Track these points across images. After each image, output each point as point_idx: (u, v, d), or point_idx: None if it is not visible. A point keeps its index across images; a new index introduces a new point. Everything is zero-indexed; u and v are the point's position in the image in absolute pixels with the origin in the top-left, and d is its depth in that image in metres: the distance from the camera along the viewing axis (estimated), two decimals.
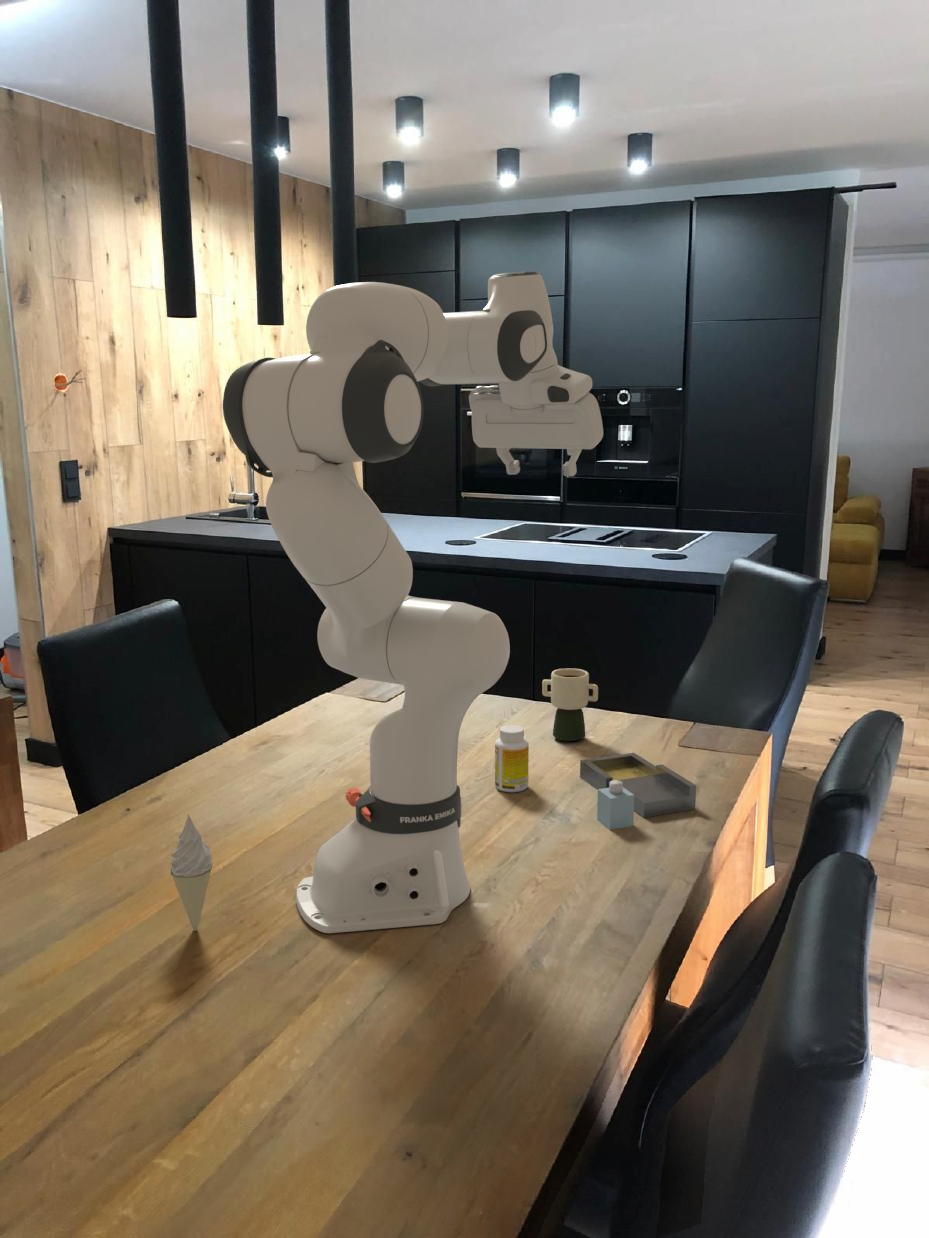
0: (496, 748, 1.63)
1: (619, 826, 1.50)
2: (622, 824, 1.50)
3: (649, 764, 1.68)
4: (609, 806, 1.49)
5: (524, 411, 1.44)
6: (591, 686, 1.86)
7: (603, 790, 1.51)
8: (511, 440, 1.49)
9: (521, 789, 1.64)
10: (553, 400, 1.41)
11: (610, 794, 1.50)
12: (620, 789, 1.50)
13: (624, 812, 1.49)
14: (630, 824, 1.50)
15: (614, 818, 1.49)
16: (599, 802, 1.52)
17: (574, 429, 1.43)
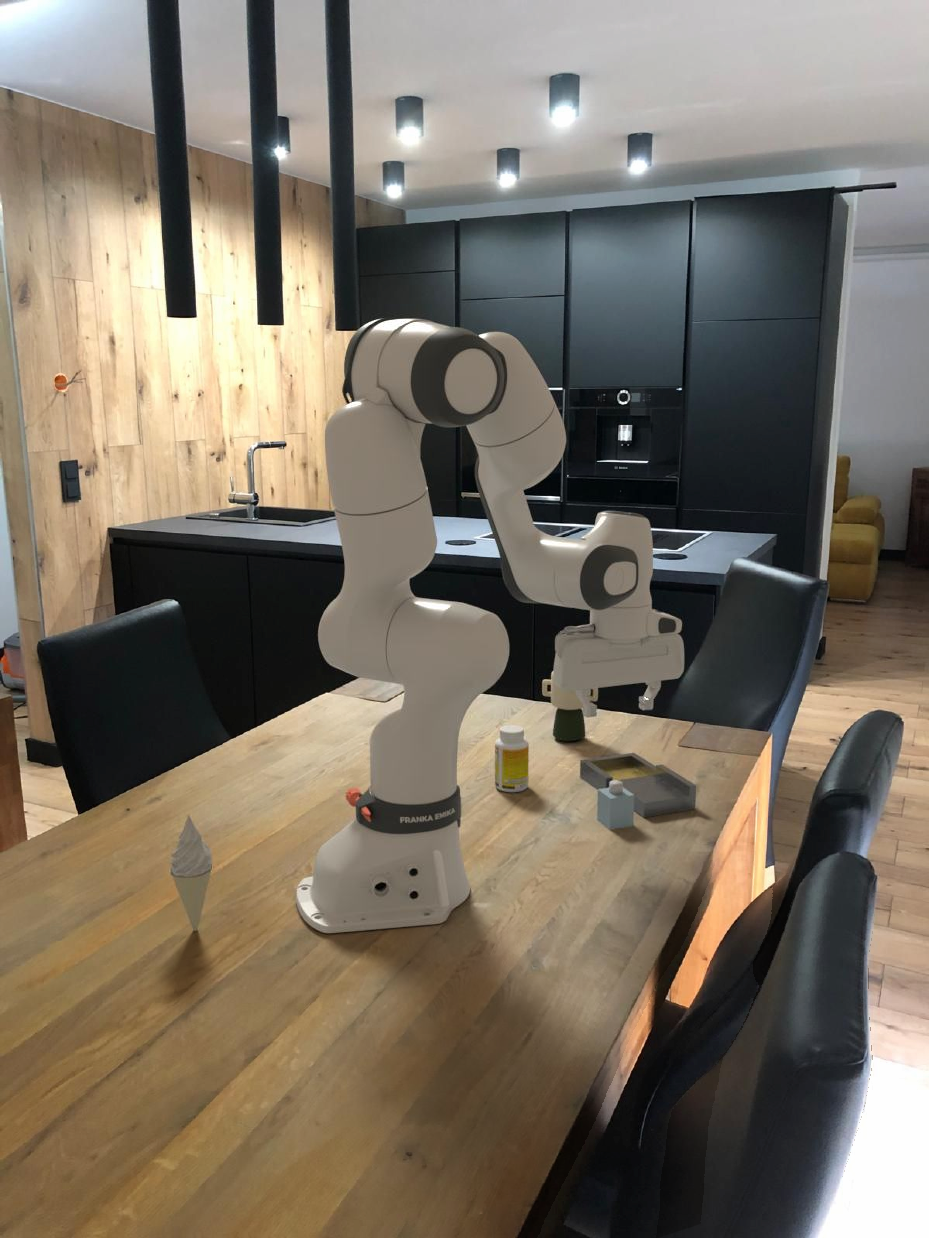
0: (496, 748, 1.63)
1: (619, 826, 1.50)
2: (622, 824, 1.50)
3: (649, 764, 1.68)
4: (609, 806, 1.49)
5: (631, 645, 1.43)
6: None
7: (603, 790, 1.51)
8: (604, 678, 1.44)
9: (521, 789, 1.64)
10: (662, 631, 1.44)
11: (610, 794, 1.50)
12: (620, 789, 1.50)
13: (624, 812, 1.49)
14: (630, 824, 1.50)
15: (614, 818, 1.49)
16: (599, 802, 1.52)
17: (667, 660, 1.47)
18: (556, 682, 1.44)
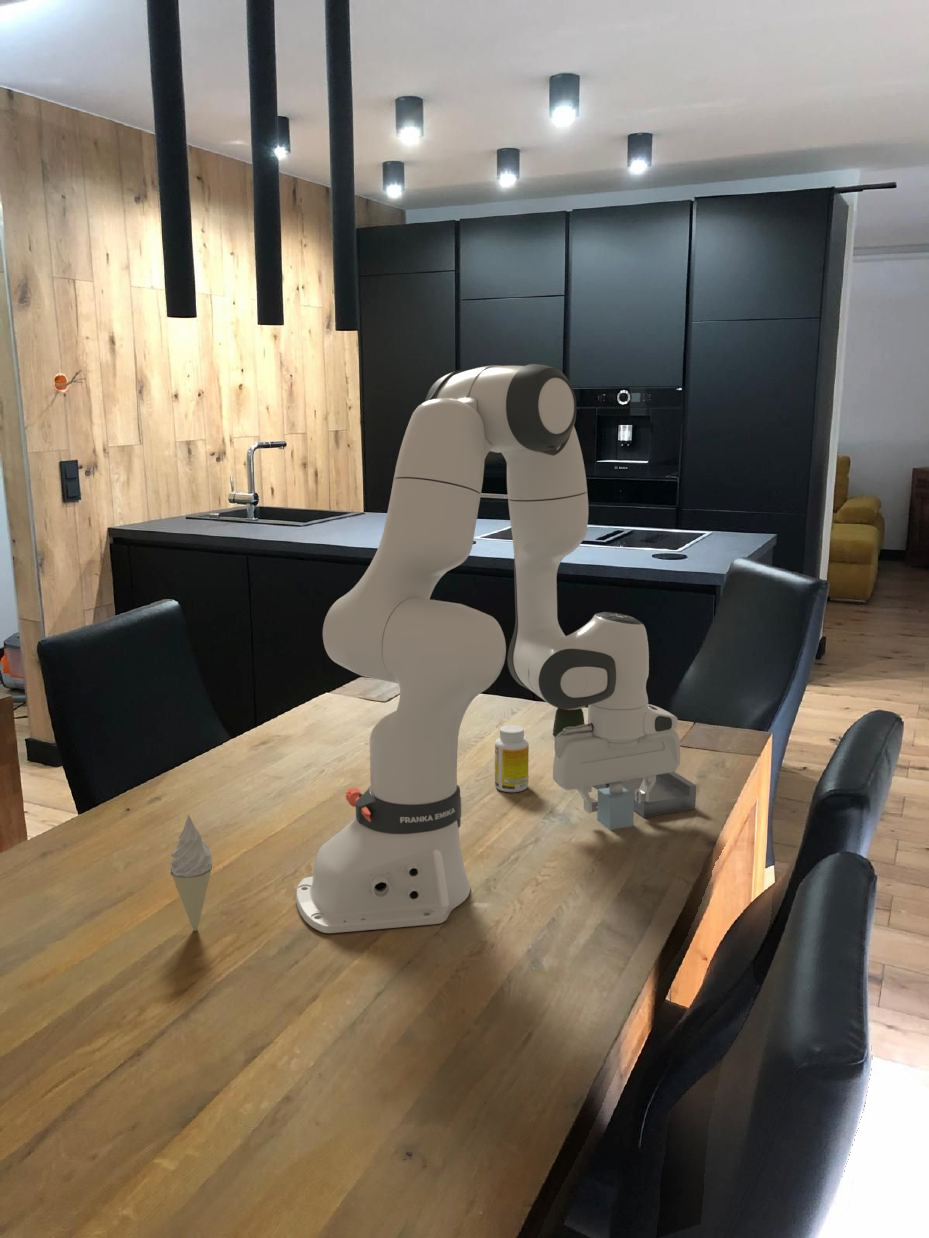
0: (496, 748, 1.63)
1: (619, 826, 1.50)
2: (622, 824, 1.50)
3: None
4: (609, 806, 1.49)
5: (629, 744, 1.47)
6: None
7: (603, 790, 1.51)
8: (603, 776, 1.48)
9: (521, 789, 1.64)
10: (658, 729, 1.48)
11: (610, 794, 1.50)
12: (620, 789, 1.50)
13: (624, 812, 1.49)
14: (630, 824, 1.50)
15: (614, 818, 1.49)
16: (599, 802, 1.52)
17: (663, 755, 1.51)
18: (556, 781, 1.47)
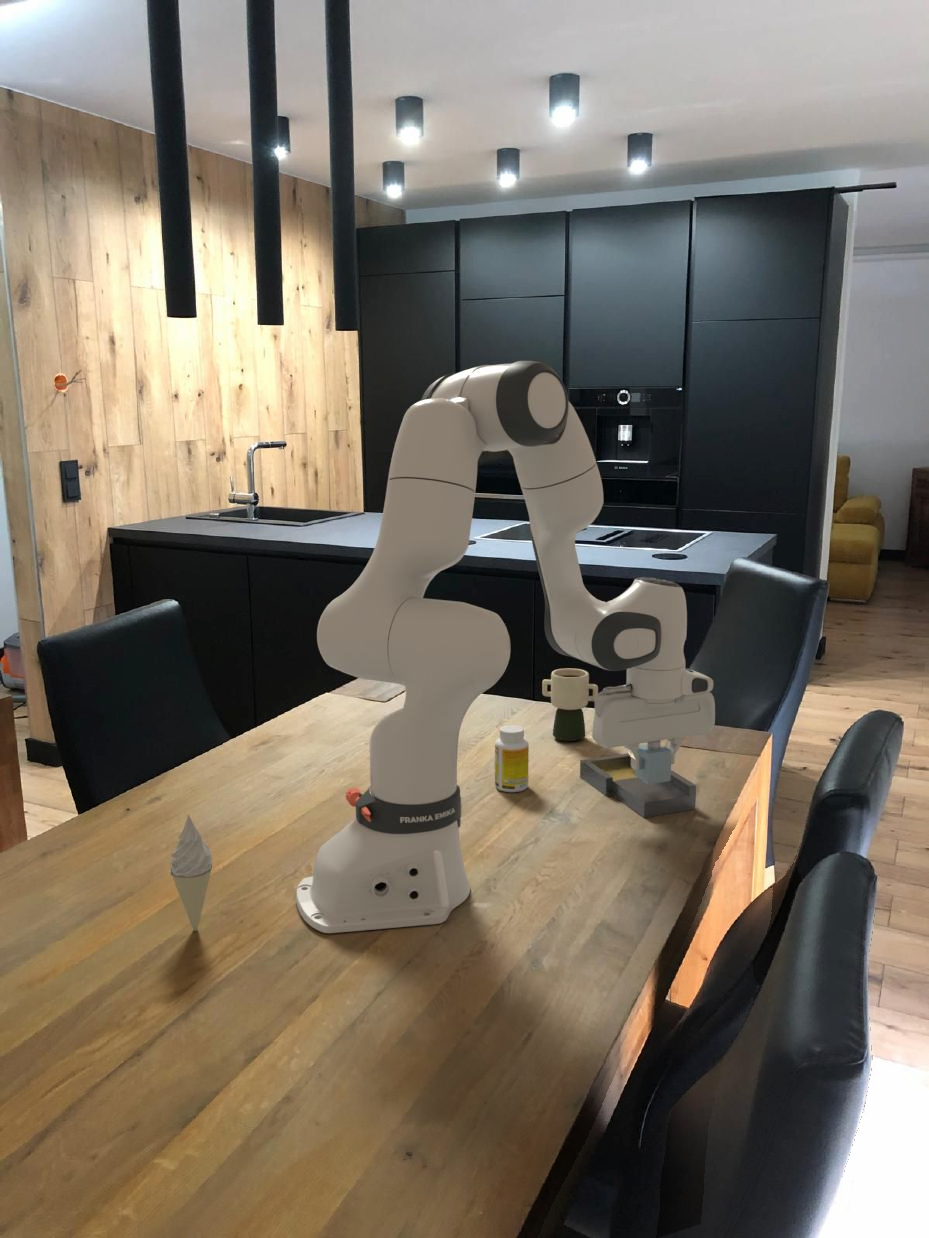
0: (496, 748, 1.63)
1: (657, 781, 1.55)
2: (660, 779, 1.55)
3: None
4: (647, 761, 1.54)
5: (666, 704, 1.52)
6: (591, 686, 1.86)
7: (641, 746, 1.57)
8: (641, 735, 1.53)
9: (521, 789, 1.64)
10: (695, 690, 1.53)
11: (648, 750, 1.55)
12: (658, 745, 1.55)
13: (661, 767, 1.55)
14: (667, 779, 1.56)
15: (653, 773, 1.54)
16: None
17: (699, 716, 1.56)
18: (595, 739, 1.52)
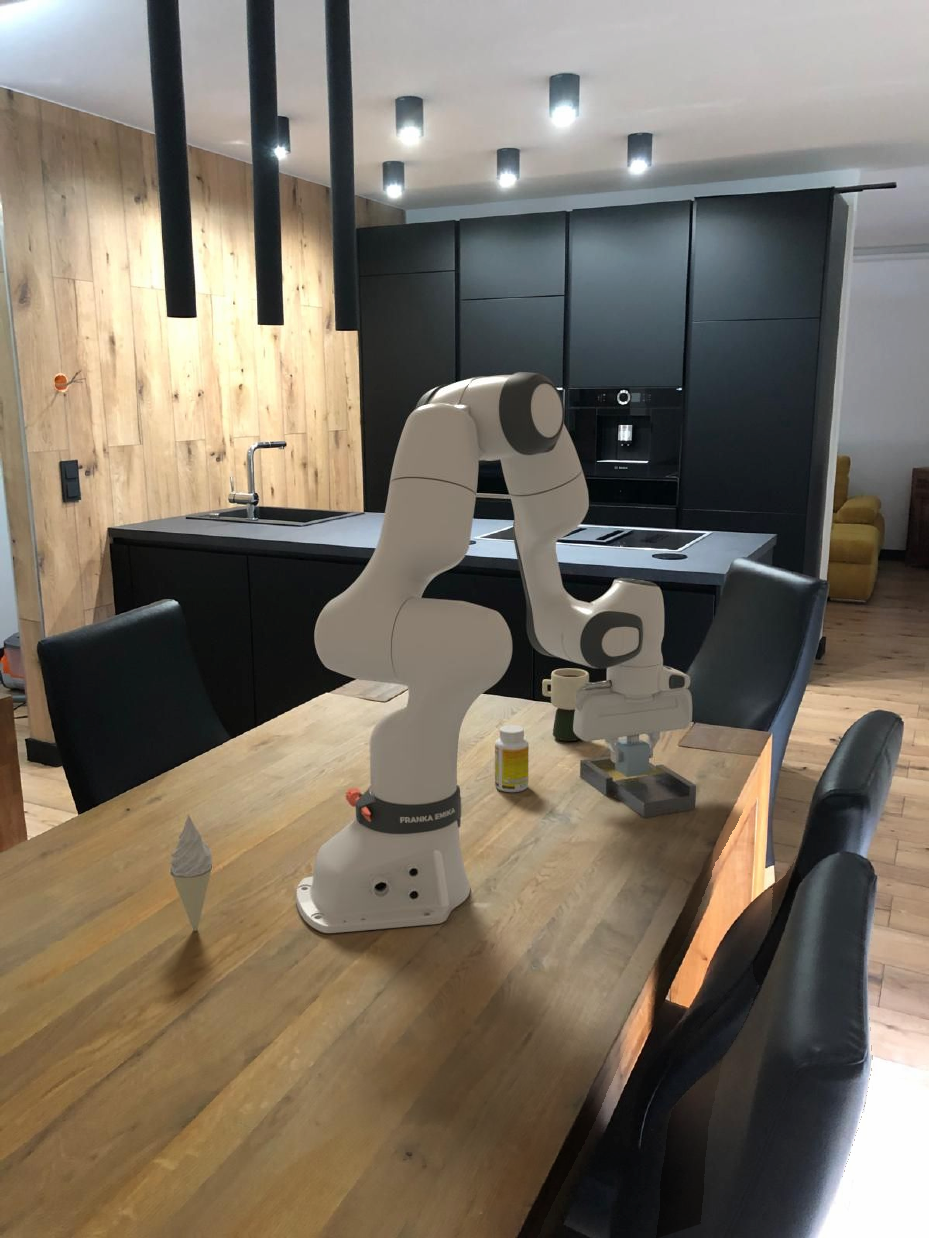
0: (496, 748, 1.63)
1: (635, 773, 1.61)
2: (638, 772, 1.61)
3: (649, 764, 1.68)
4: (626, 755, 1.60)
5: (644, 700, 1.58)
6: None
7: (621, 740, 1.63)
8: (620, 729, 1.59)
9: (521, 789, 1.64)
10: (672, 687, 1.59)
11: (627, 744, 1.61)
12: (637, 739, 1.61)
13: (640, 761, 1.61)
14: (646, 772, 1.62)
15: (631, 766, 1.61)
16: None
17: (676, 712, 1.62)
18: (576, 733, 1.59)
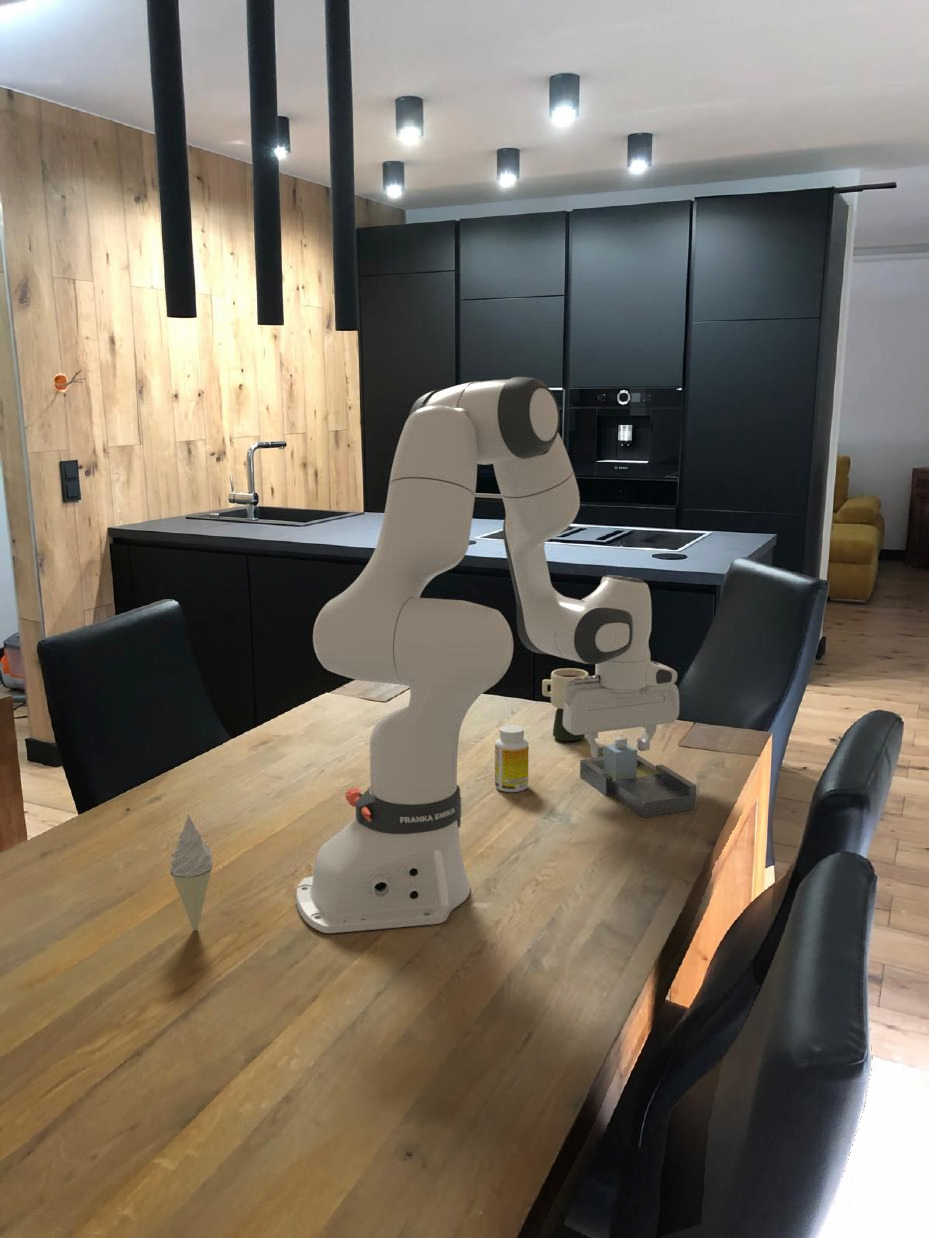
0: (496, 748, 1.63)
1: (624, 778, 1.65)
2: (626, 776, 1.65)
3: (649, 764, 1.68)
4: (614, 760, 1.64)
5: (632, 694, 1.61)
6: None
7: (609, 746, 1.67)
8: (608, 723, 1.62)
9: (521, 789, 1.64)
10: (659, 681, 1.62)
11: (616, 749, 1.65)
12: (625, 744, 1.65)
13: (628, 766, 1.65)
14: (634, 776, 1.65)
15: (620, 770, 1.64)
16: (605, 757, 1.67)
17: (664, 706, 1.65)
18: (565, 727, 1.62)
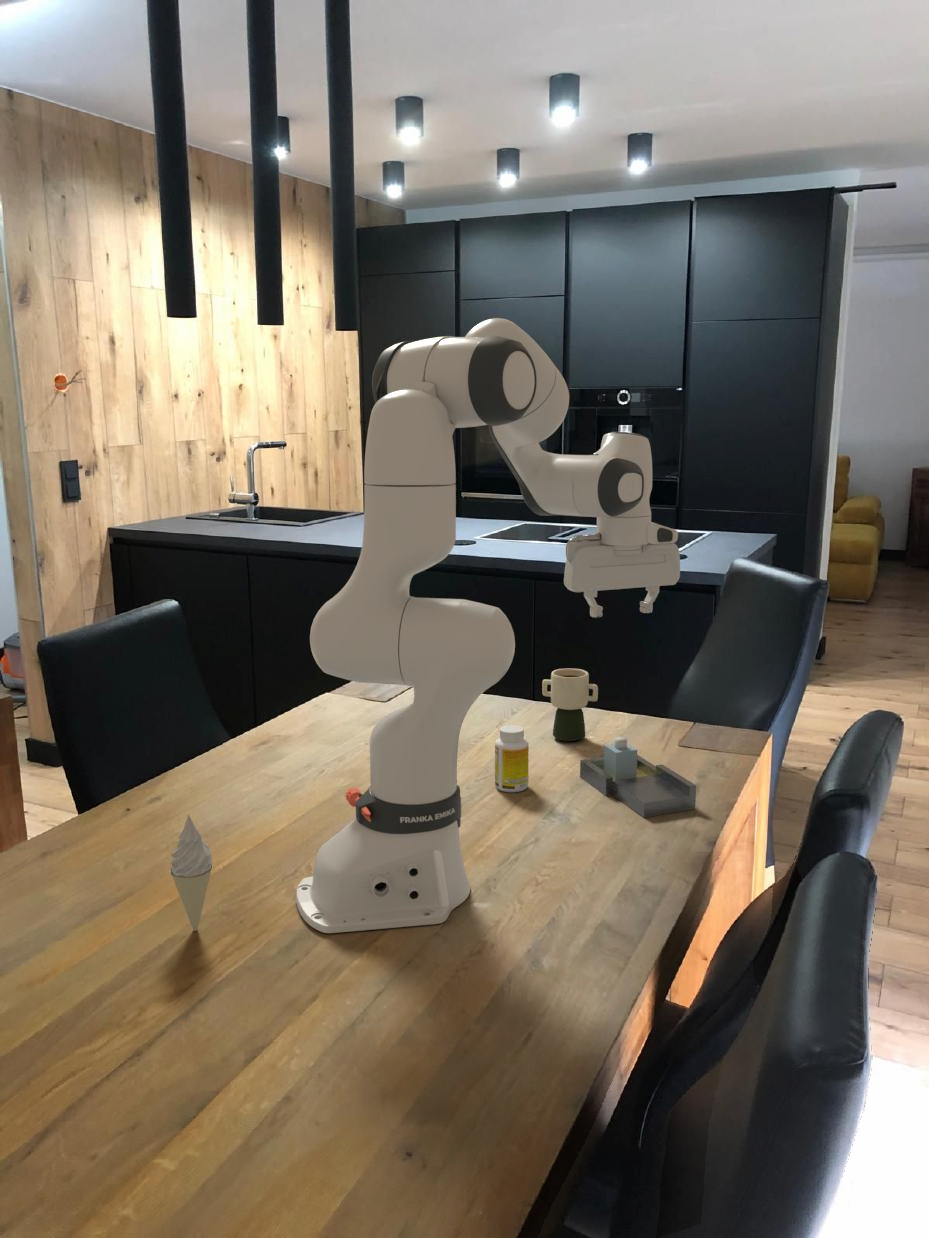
0: (496, 748, 1.63)
1: (624, 778, 1.65)
2: (626, 776, 1.65)
3: (649, 764, 1.68)
4: (614, 760, 1.64)
5: (633, 552, 1.62)
6: (591, 686, 1.86)
7: (609, 746, 1.67)
8: (609, 582, 1.63)
9: (521, 789, 1.64)
10: (660, 540, 1.63)
11: (616, 749, 1.65)
12: (625, 744, 1.65)
13: (628, 766, 1.65)
14: (634, 776, 1.65)
15: (620, 770, 1.64)
16: (605, 757, 1.67)
17: (665, 567, 1.66)
18: (566, 585, 1.63)
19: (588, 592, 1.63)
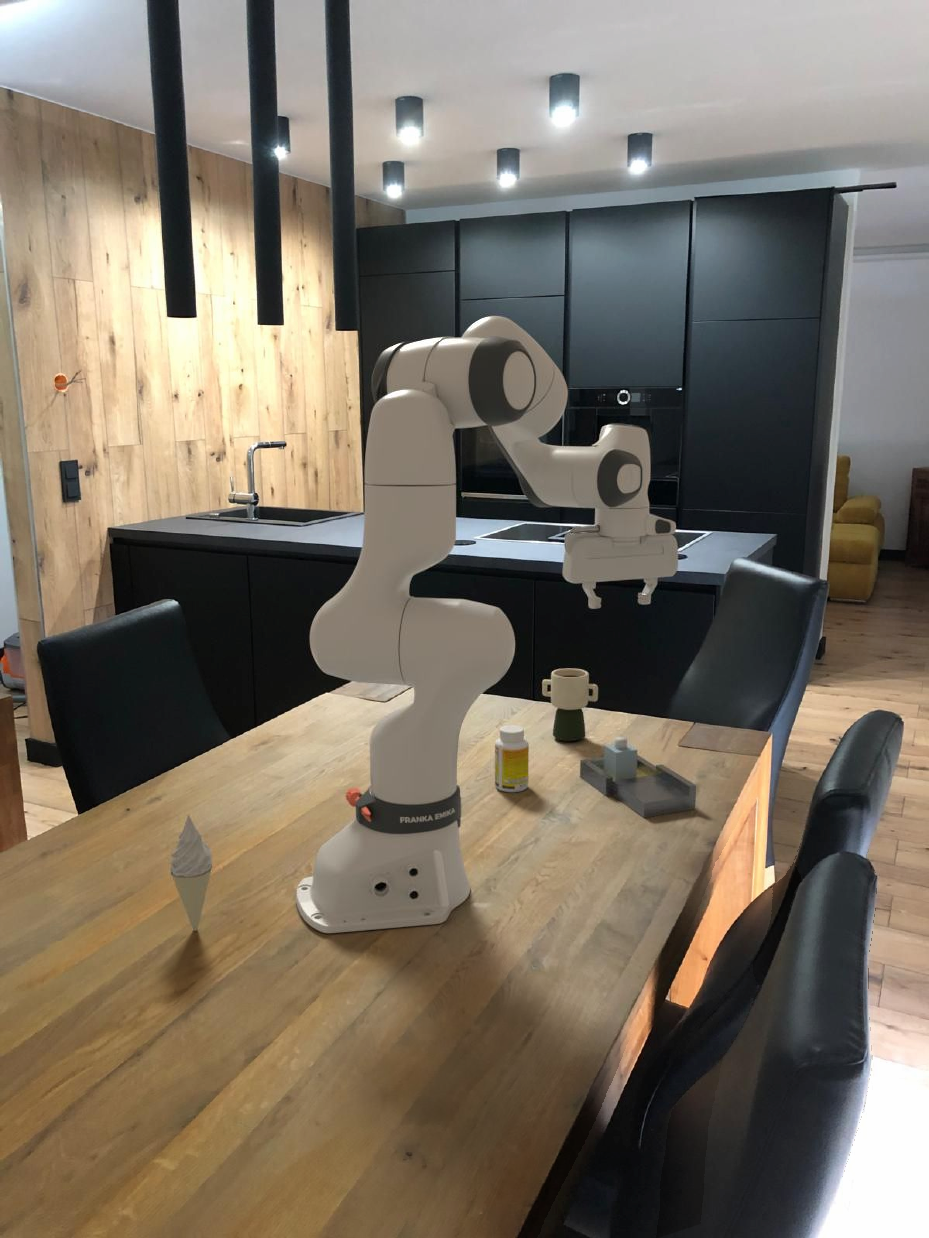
0: (496, 748, 1.63)
1: (624, 778, 1.65)
2: (626, 776, 1.65)
3: (649, 764, 1.68)
4: (614, 760, 1.64)
5: (631, 543, 1.63)
6: (591, 686, 1.86)
7: (609, 746, 1.67)
8: (608, 573, 1.64)
9: (521, 789, 1.64)
10: (658, 532, 1.64)
11: (616, 749, 1.65)
12: (625, 744, 1.65)
13: (628, 766, 1.65)
14: (634, 776, 1.65)
15: (620, 770, 1.64)
16: (605, 757, 1.67)
17: (663, 559, 1.67)
18: (565, 576, 1.63)
19: (587, 583, 1.64)
